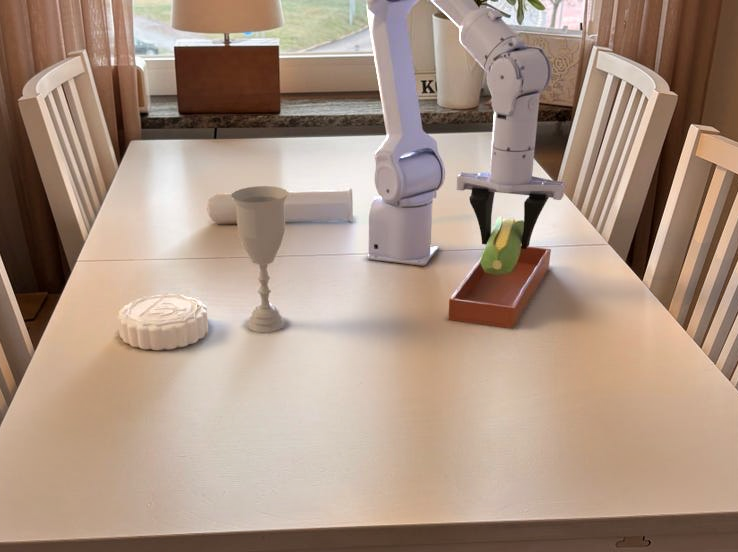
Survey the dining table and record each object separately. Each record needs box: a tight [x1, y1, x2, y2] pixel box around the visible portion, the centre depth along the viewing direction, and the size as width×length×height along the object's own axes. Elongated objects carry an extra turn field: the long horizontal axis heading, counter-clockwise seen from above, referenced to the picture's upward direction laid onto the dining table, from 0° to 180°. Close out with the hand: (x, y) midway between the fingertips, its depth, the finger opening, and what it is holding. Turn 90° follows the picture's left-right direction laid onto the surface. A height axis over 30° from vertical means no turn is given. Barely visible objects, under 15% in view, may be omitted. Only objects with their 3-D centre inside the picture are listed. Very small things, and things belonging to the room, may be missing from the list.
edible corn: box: [480, 215, 524, 275], centre depth 145 cm, size 5×20×5 cm, turn 165°
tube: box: [206, 187, 354, 225], centre depth 177 cm, size 5×5×25 cm
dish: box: [447, 246, 552, 329], centre depth 149 cm, size 9×24×3 cm, turn 158°
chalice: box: [231, 185, 288, 333], centre depth 137 cm, size 7×7×18 cm
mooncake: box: [117, 293, 209, 351], centre depth 139 cm, size 12×12×4 cm
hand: (505, 244), depth 146 cm, fingers closed on edible corn, 5 cm apart
